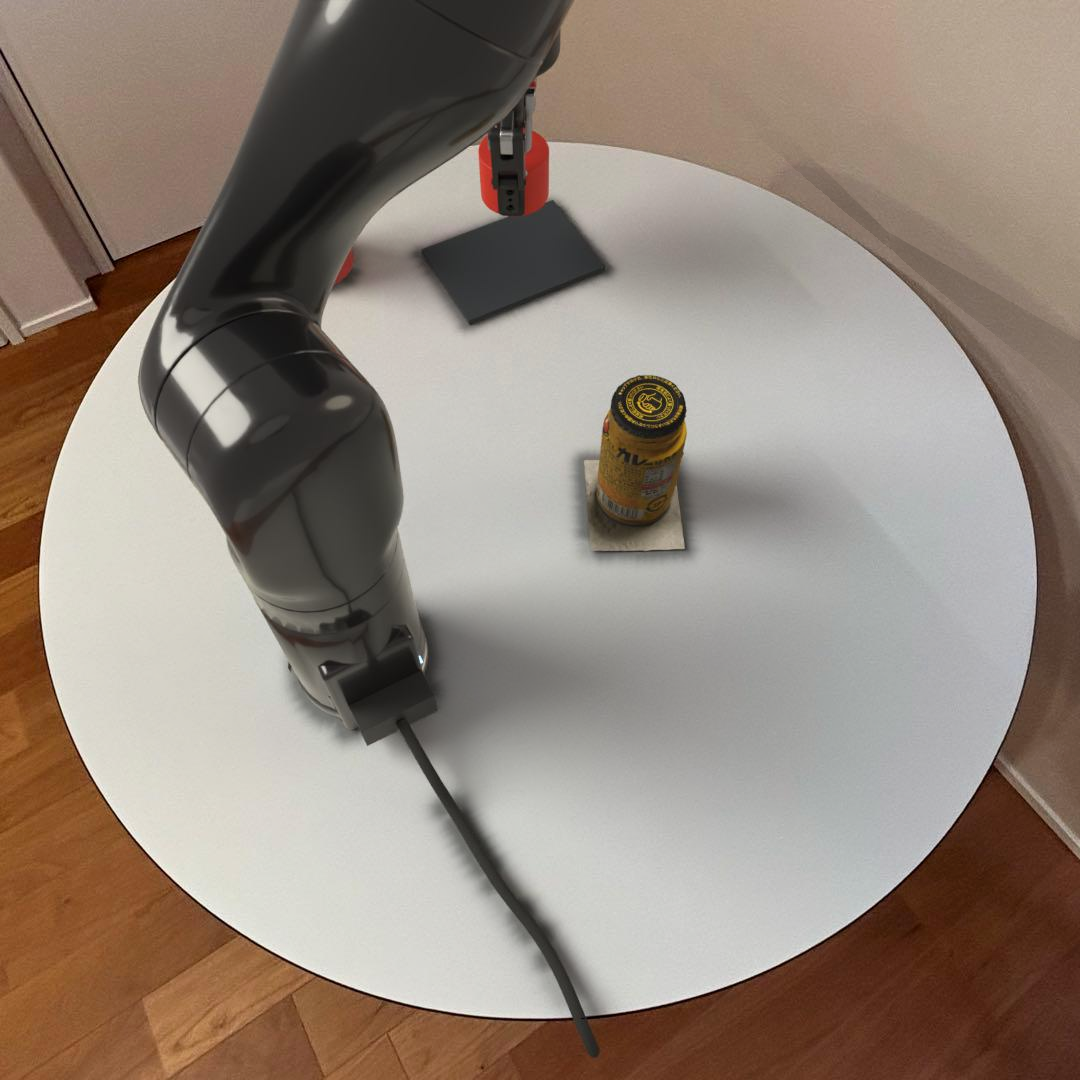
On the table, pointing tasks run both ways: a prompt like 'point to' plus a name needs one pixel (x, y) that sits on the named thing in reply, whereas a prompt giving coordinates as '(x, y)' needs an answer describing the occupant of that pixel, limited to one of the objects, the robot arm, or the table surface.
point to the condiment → (638, 469)
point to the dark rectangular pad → (512, 262)
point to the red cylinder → (534, 181)
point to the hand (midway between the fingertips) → (513, 186)
